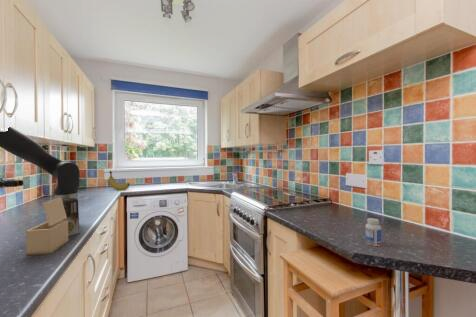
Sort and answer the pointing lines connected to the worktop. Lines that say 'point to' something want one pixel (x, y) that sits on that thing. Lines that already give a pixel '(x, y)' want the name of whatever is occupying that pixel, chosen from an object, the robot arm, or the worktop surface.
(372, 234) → the pill bottle
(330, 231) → the worktop surface
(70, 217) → the coffee box
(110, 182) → the banana
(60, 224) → the carton
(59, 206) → the carton flap
